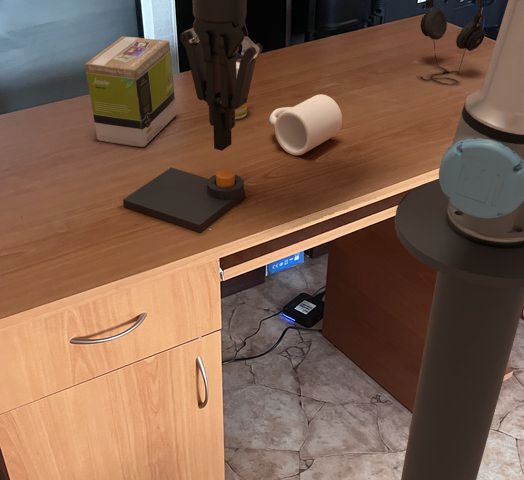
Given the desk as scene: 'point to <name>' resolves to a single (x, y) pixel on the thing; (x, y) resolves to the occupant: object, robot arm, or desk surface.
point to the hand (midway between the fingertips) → (222, 146)
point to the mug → (306, 124)
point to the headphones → (437, 24)
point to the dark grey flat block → (185, 199)
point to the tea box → (131, 90)
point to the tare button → (225, 178)
